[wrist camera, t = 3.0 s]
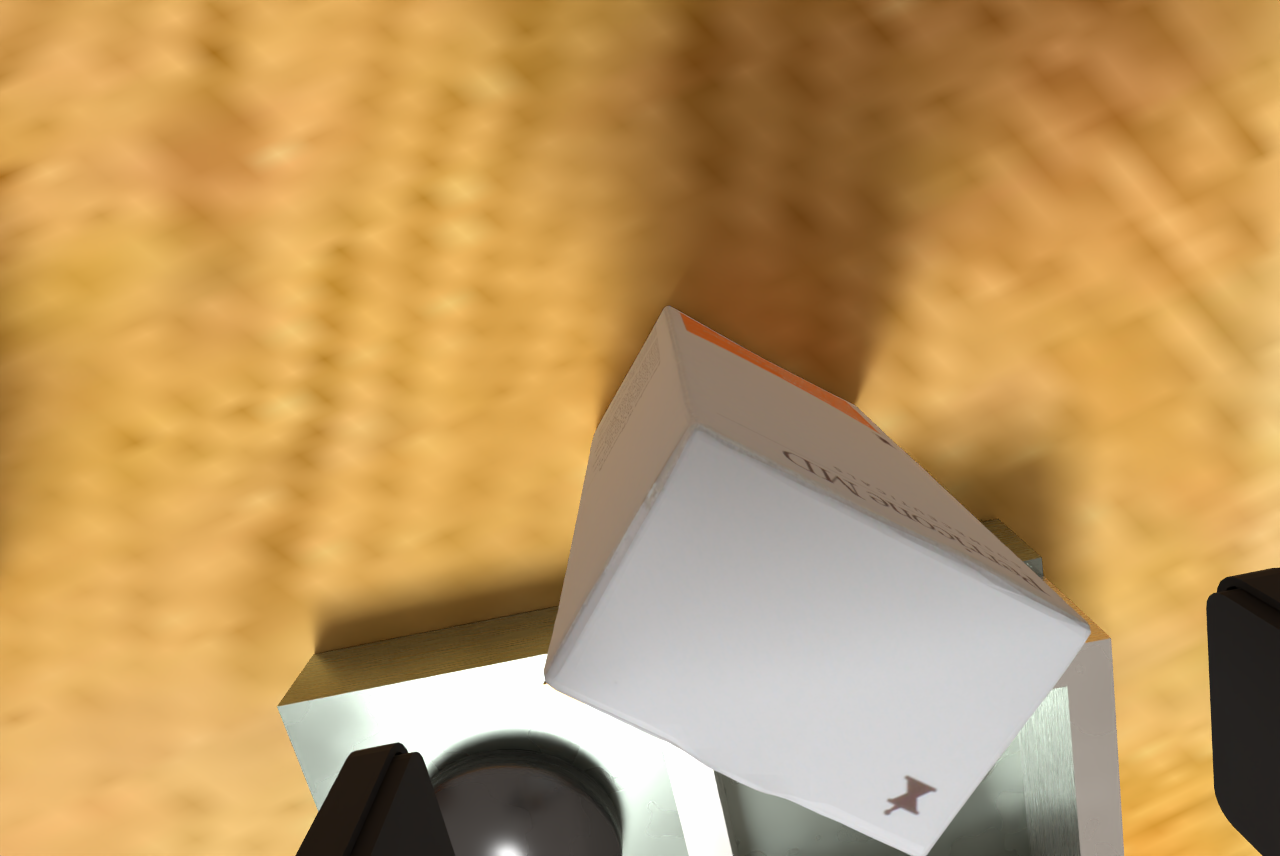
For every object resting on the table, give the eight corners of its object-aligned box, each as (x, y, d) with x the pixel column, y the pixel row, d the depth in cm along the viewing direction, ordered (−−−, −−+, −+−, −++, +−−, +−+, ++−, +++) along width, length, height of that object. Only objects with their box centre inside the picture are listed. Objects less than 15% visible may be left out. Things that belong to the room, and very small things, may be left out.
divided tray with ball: (998, 518, 23) (1109, 617, 17) (1029, 834, 26) (1132, 1001, 20) (313, 654, 24) (221, 787, 18) (420, 942, 27) (367, 1128, 21)
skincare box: (860, 401, 22) (1117, 635, 10) (778, 532, 23) (927, 879, 11) (661, 294, 21) (693, 414, 9) (585, 434, 22) (530, 701, 10)
